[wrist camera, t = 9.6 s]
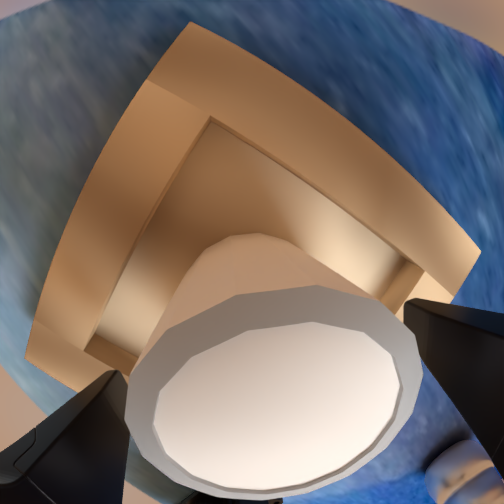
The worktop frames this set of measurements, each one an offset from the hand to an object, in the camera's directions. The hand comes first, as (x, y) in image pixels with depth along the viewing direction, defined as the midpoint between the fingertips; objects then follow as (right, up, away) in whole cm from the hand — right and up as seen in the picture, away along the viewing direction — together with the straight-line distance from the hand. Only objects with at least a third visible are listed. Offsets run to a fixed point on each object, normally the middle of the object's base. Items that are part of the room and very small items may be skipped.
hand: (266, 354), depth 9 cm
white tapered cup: (0, +1, +4) cm, 4 cm away
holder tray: (0, +1, +5) cm, 5 cm away
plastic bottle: (+18, -16, +12) cm, 27 cm away
